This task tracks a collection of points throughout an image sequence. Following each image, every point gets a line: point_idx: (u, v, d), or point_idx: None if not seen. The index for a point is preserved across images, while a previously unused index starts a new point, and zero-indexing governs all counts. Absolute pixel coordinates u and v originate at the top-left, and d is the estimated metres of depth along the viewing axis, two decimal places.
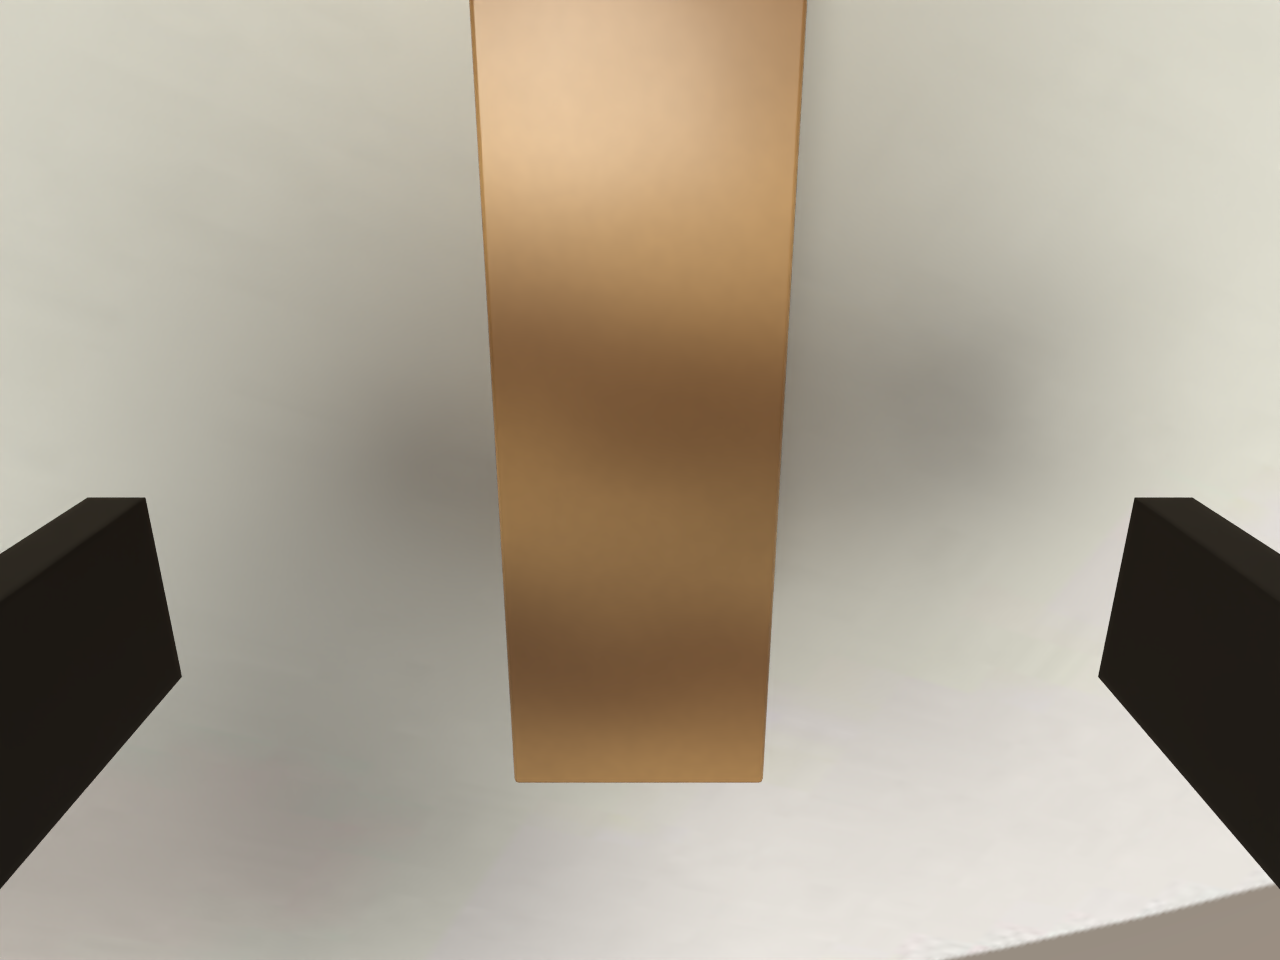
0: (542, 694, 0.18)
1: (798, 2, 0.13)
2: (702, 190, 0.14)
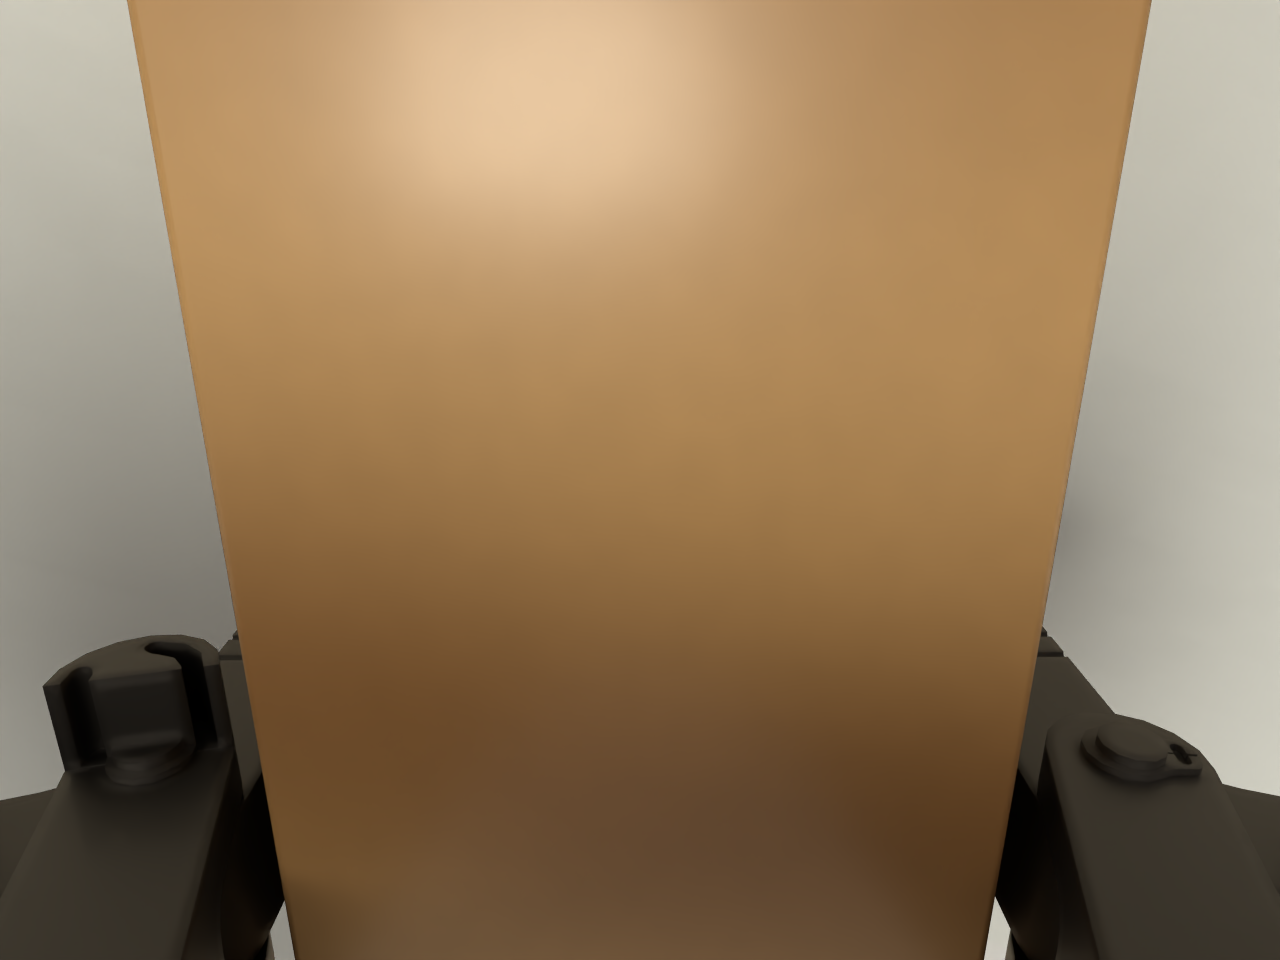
0: None
1: None
2: (829, 286, 0.05)
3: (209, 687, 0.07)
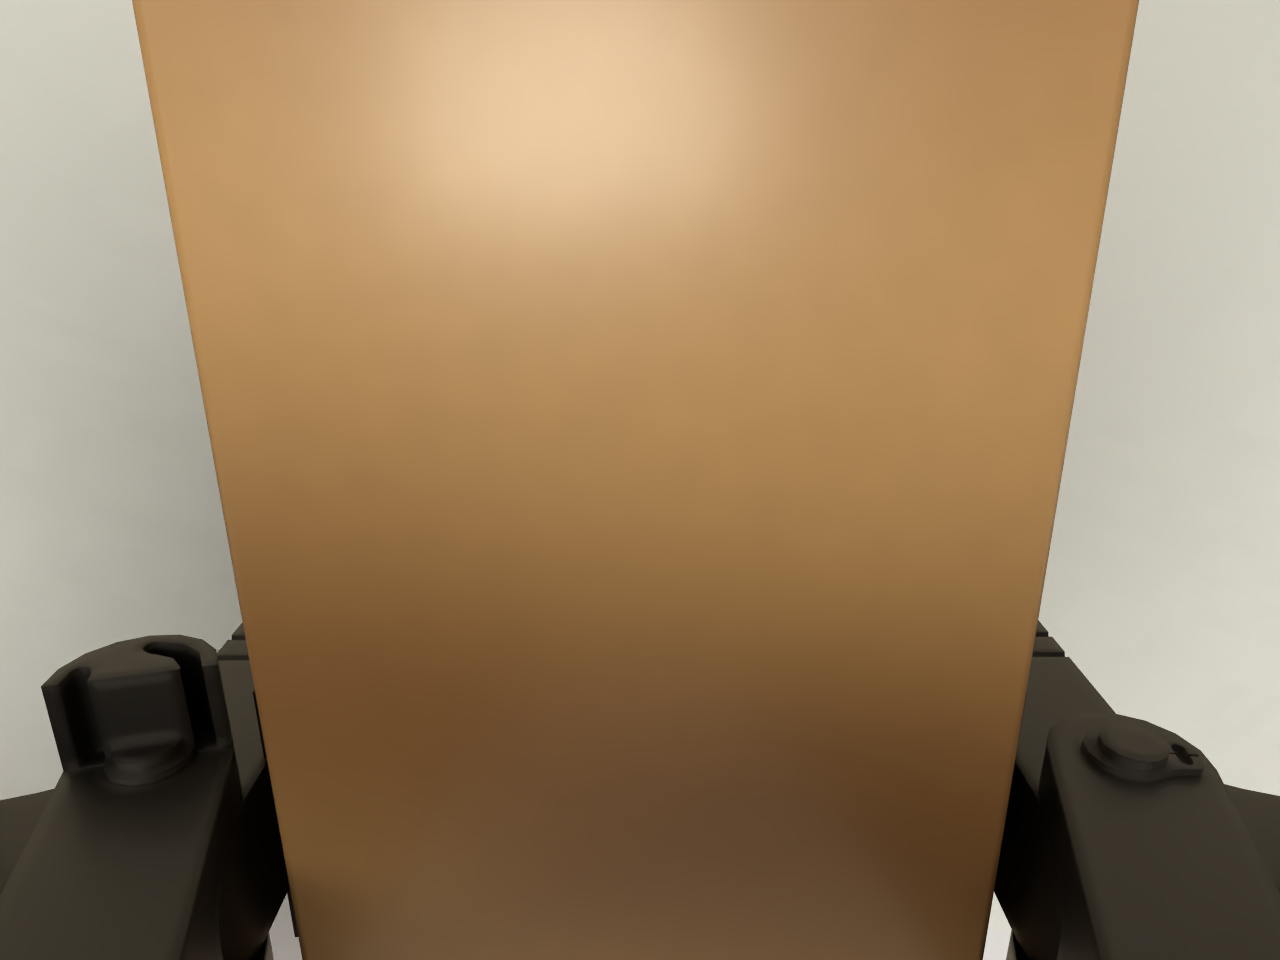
0: None
1: None
2: (823, 281, 0.05)
3: (207, 687, 0.07)
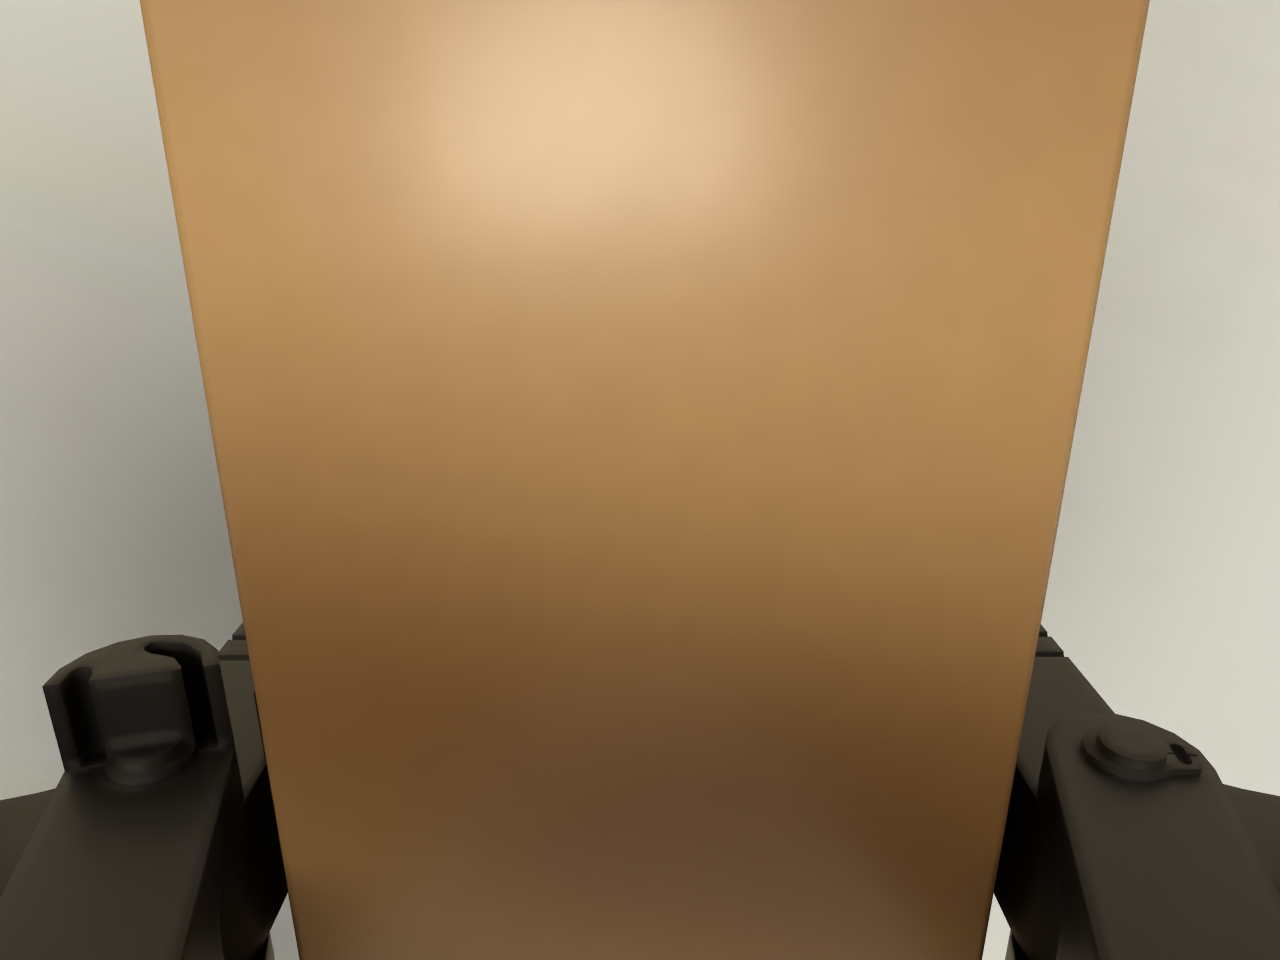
0: None
1: None
2: (832, 279, 0.05)
3: (208, 687, 0.07)
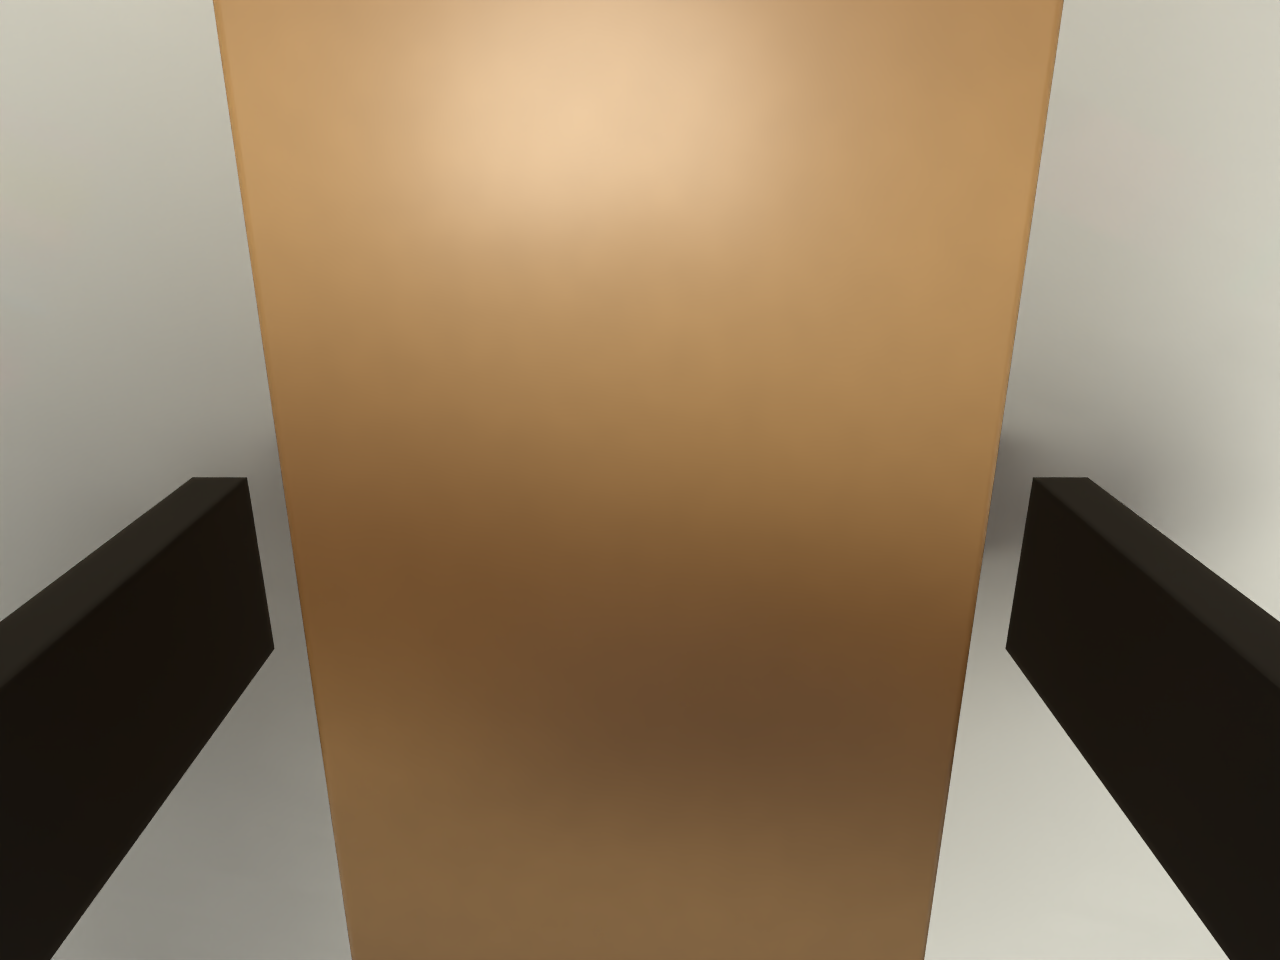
0: None
1: None
2: (801, 191, 0.06)
3: None
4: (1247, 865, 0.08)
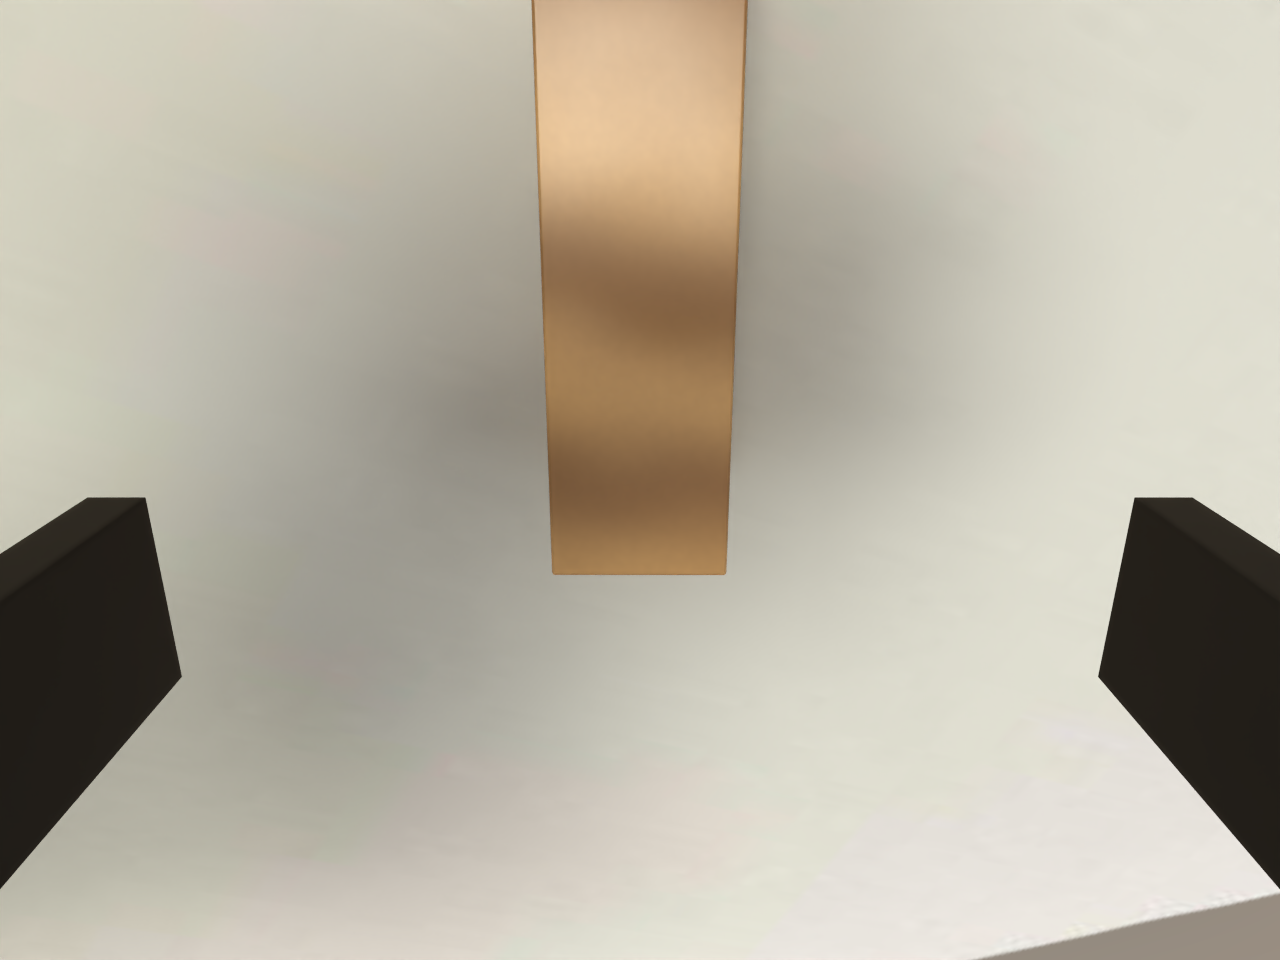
0: (572, 507, 0.25)
1: (740, 33, 0.21)
2: (681, 154, 0.22)
3: None
4: None
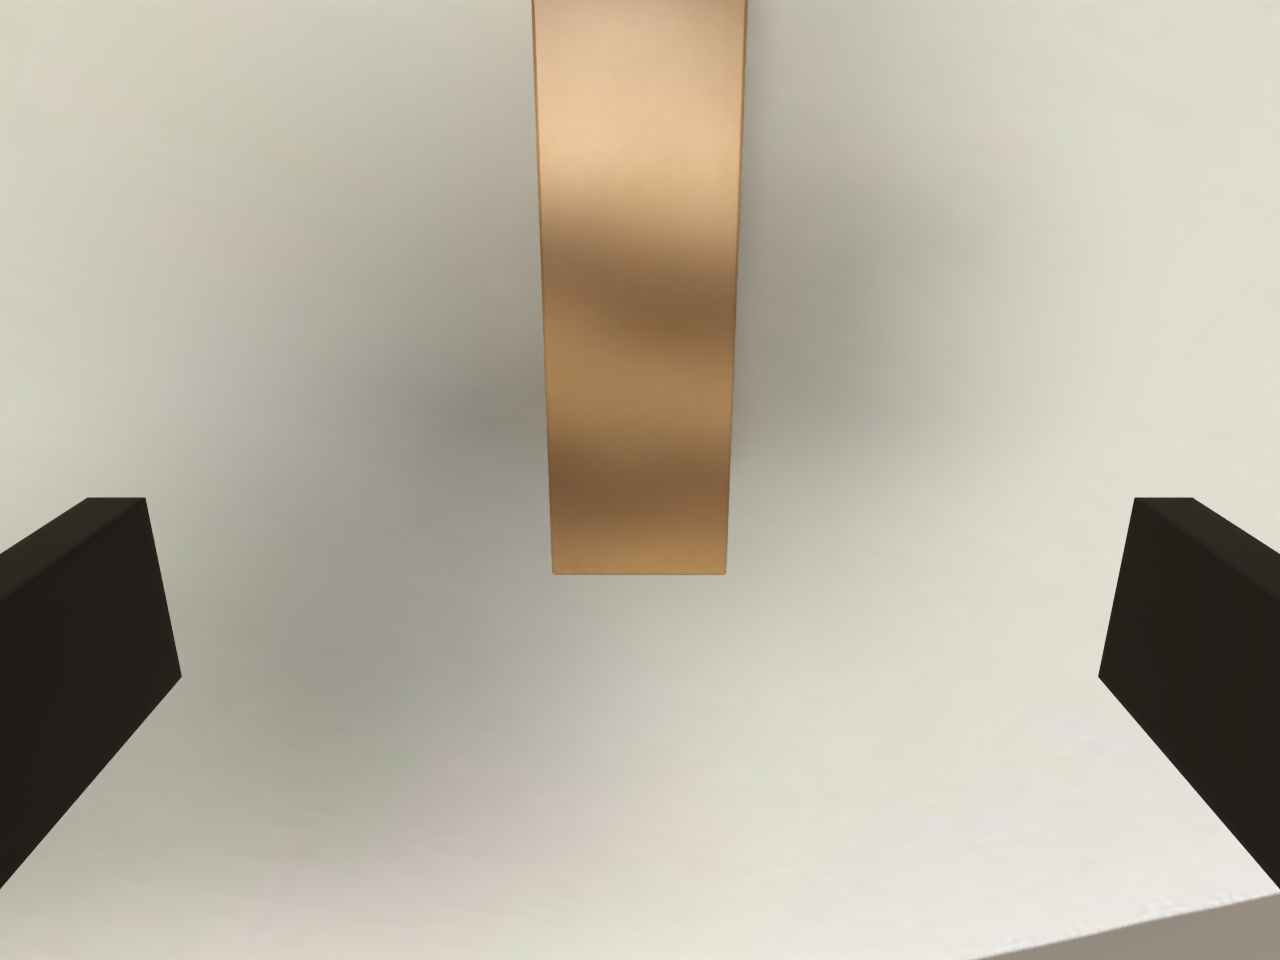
0: (572, 507, 0.25)
1: (740, 33, 0.21)
2: (681, 154, 0.22)
3: None
4: None
